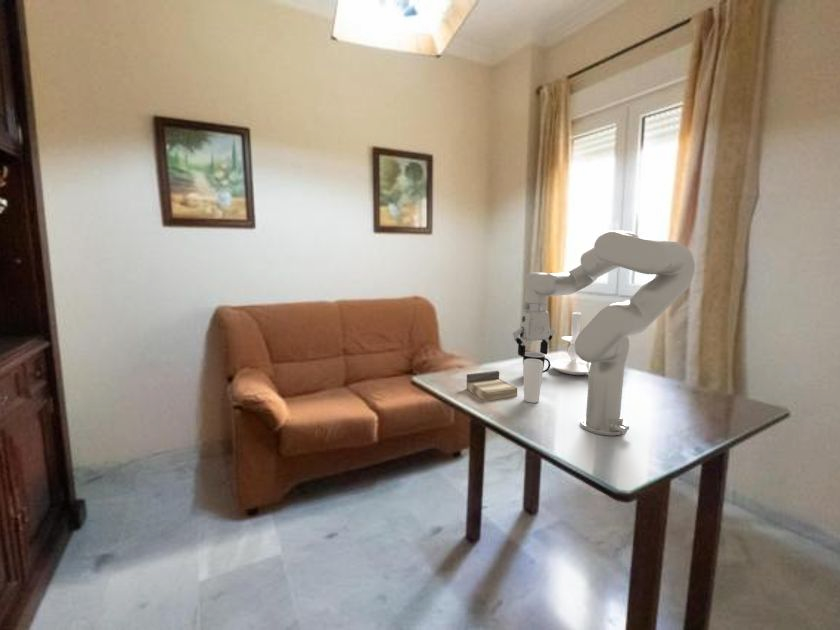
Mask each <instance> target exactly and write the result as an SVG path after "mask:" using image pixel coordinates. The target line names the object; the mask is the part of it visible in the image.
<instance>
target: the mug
mask: <svg viewBox="0 0 840 630" xmlns="http://www.w3.org/2000/svg"><path fill="white" fill-rule="evenodd" d="M545 356H546V354H543V353H541V352H533V351H528V352H526V351H525V356H524V357H522V362H523V363H522V364H523V366H524V360H525V359H539V360H541V361H543V373H542V374H544V373H546V372H549V369H550V367H551V366H550V362H551V361H550V360H549V359H548V358H546V357H545ZM545 361H546V362H547V364H548V365H547V368H546V369H544V367H545Z"/></svg>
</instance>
